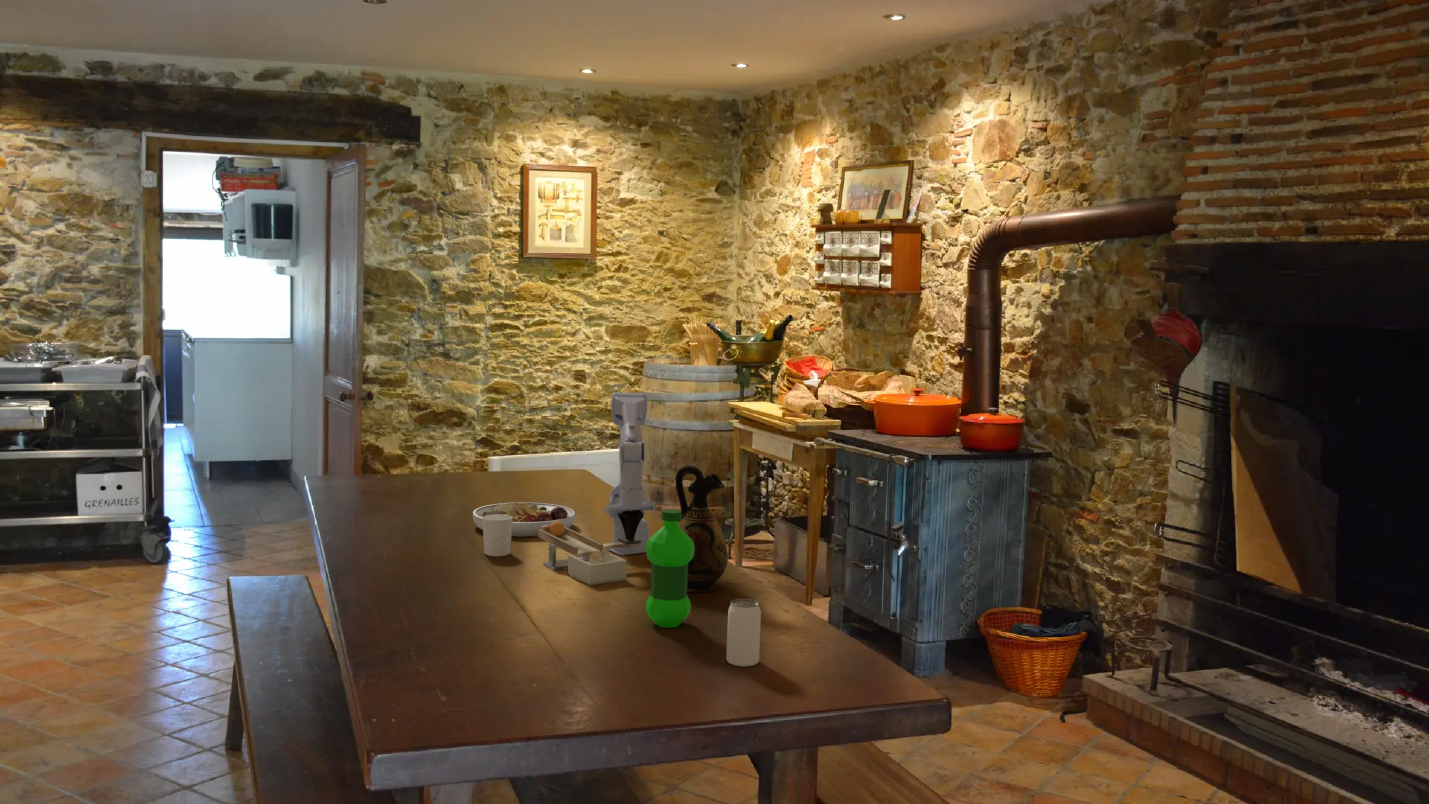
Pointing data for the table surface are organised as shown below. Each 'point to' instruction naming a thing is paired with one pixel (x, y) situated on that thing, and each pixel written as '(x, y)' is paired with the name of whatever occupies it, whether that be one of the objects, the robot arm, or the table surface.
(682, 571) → the plastic bottle
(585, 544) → the lever
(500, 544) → the white cup
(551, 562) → the lever stand
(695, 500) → the ceramic jug
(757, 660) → the can
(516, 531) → the bowl
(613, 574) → the cream open box
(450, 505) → the table surface
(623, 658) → the table surface
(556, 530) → the ball
